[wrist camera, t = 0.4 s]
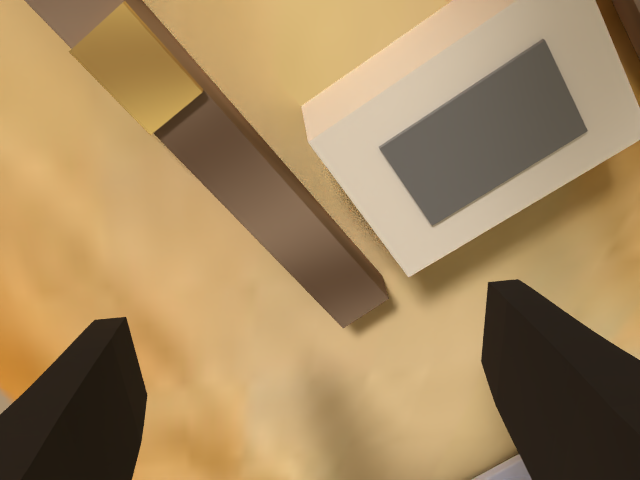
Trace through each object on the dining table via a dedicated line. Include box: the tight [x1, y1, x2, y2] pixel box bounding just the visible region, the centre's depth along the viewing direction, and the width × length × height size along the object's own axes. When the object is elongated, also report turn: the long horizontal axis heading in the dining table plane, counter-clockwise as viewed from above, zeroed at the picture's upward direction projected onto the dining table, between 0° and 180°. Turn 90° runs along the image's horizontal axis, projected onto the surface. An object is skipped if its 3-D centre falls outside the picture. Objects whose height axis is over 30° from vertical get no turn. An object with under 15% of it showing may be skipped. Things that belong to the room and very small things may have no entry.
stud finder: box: [302, 0, 640, 277], centre depth 18 cm, size 6×8×4 cm
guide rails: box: [25, 0, 640, 328], centre depth 17 cm, size 15×15×2 cm
